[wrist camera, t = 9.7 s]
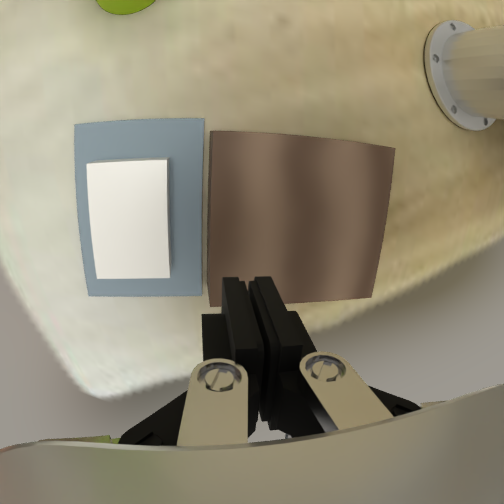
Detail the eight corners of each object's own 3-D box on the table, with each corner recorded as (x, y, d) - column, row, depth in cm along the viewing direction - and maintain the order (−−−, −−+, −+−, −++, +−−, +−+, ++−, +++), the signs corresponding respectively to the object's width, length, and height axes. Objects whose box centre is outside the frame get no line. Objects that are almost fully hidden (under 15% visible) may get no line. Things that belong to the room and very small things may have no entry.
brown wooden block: (370, 144, 27) (395, 148, 23) (352, 278, 31) (371, 297, 27) (210, 131, 24) (213, 130, 20) (207, 283, 29) (210, 306, 25)
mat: (204, 118, 24) (204, 118, 23) (201, 294, 29) (201, 295, 29) (75, 124, 22) (74, 124, 21) (89, 294, 27) (88, 296, 27)
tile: (86, 163, 21) (96, 160, 23) (96, 278, 24) (104, 266, 26) (166, 159, 22) (169, 157, 24) (170, 278, 25) (171, 265, 27)
